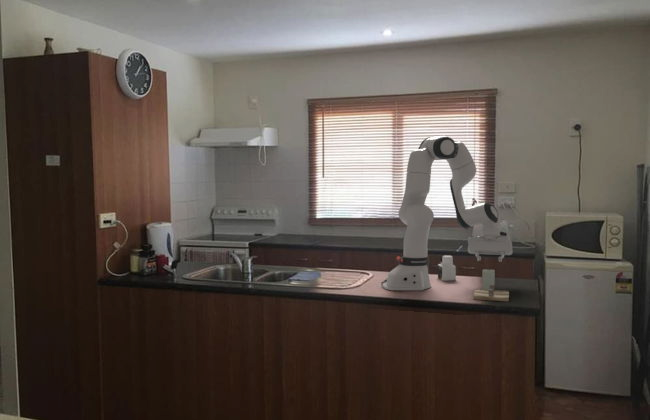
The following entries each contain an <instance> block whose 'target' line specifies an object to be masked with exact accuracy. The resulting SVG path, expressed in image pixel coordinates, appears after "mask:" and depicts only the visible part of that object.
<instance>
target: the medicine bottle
mask: <svg viewBox="0 0 650 420" xmlns="http://www.w3.org/2000/svg"><path fill="white" fill-rule="evenodd" d="M453 260H454V256H452V255H450V254H442V255H441V256H440V263H438V264H437V279H439V280H440V281H441V282H442V281H456V280H457V278H456V276H457V275H456V274H457V270H456V269H457V267H456V265H455V264H454V261H453Z"/></svg>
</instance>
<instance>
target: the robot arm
mask: <svg viewBox="0 0 650 420" xmlns="http://www.w3.org/2000/svg"><path fill="white" fill-rule="evenodd" d="M441 160H446V162H447V163H448V165H449V168H450V170H451V176H452V177H451V179H449V187H450V189H449V190H450V192H451V196H452V202H453V206H454V209H455V215H456V221H457V224H458V226H460V227H461V228H463V229H465V230H467V229H470V228H474V227H477V226H480V225H481V230H480V236H471V237H468V239H467V244H468V245H467V252H468V253H469V254H470V255H475V257H476V258H477V259H476V260H477V262H481V260H482V257H481V255H496V256H498V255H500V256H498V262H500V263H501V262H503V259H504V257H505V256H511V255H513V241H512V239H511V237H510V233H509V232H506V231H503V230H501V229H500V228H501V216H500V212H499V210H498V209H497V208H496V207H495V206H494V204H491V203H490V202H487V201H486V202H482V203H478V204H474V205H471V206H466V204H465V202H464V198H463V197H464V196H463V193H462V190H463V188H464V187H465V186H467V184H469V183H470V182H471V181H472V180H473V179H474V177H476V174H477V165H476V163H475V160H474V159H473V156H472V154H471V152H470V151H469V149H468V147H467V146H466V144H465V143H464V142H462V141H455V140H454V139H453V138H452V137H451V136H450V137H449V136H447V135H434V136H430V137H426V138H424V140H421V143H420V145H419V147H418V148H417V149H414V150H412V151H410V153H409V157H408V160H407V168H406V177H405V189H404V194H403V197H402V200H401V205H400V208H399V209H398V217H399V220H400V221H401V222H402V223H403V224H404V225H406V232H405V235H404V238H403V256H401V257H400V256H397V257H396V261H398V262H399V263H398V265H397V266H395V268H393V269H392V270H390V272H388V274H387V278H386V282H382V284H381V287H382V288H383V289H385V290H388V291H424V290H426V289H430V288H432V285H431V281H430V276H429V275H430V274H429V266H430V265H429V263H430V261H429V256H428V243H429V242H428V241H429V240H428V239H429V236H430V229H431V225H432V223H433V222H434V215H435V214H434V212H433V210H432V209H431V208H430V207H429V206H427V205H426V200H427V197H428V194H429V193H430V191H431V189H430V188H431V175H432V166H433V163H434V161H441Z"/></svg>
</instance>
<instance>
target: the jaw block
mask: <svg viewBox="0 0 650 420" xmlns="http://www.w3.org/2000/svg"><path fill="white" fill-rule="evenodd" d="M481 279H482V280H481V282H482V287H481V288H482V290H489V289H490V285H494V286H495V280H496V279H495V269H485V268H484V269H482V278H481Z"/></svg>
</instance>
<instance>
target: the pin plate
mask: <svg viewBox="0 0 650 420" xmlns="http://www.w3.org/2000/svg"><path fill="white" fill-rule="evenodd" d="M473 300H479V301H492V302H509V301H510V290H500V289H499V290H498V289H497V290H496V289H495V284H494V285H490V289H489V290H482V289H479V288H476V289H475V290H474V293H473Z"/></svg>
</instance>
